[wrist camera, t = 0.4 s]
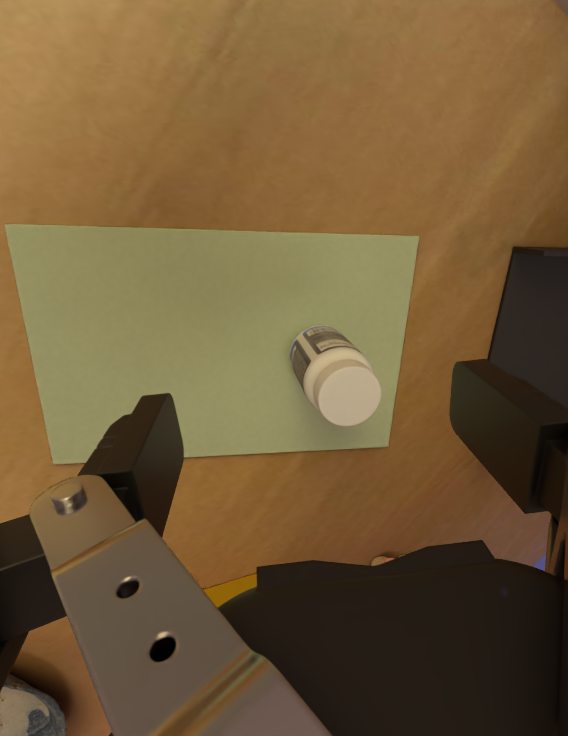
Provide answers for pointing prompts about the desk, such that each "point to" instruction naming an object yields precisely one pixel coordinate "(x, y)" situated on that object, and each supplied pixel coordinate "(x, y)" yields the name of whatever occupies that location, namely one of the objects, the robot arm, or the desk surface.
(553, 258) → the dustpan
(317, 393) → the pill bottle
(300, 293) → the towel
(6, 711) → the grey shallow oval dish
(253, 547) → the desk surface
